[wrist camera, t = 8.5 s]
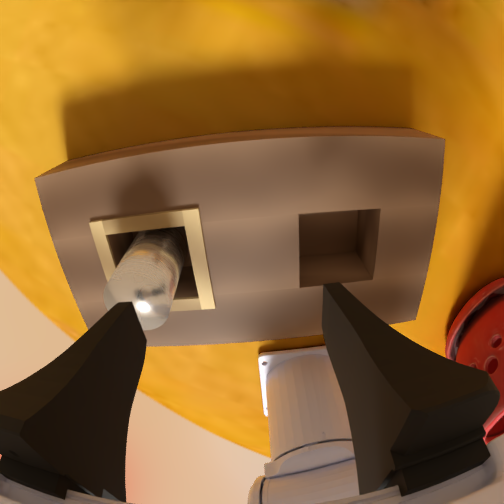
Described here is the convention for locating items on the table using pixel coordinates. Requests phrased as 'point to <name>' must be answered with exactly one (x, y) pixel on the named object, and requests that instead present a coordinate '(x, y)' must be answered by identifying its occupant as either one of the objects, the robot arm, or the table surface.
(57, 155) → the table surface
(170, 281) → the pin
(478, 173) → the table surface
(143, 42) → the table surface
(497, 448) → the robot arm
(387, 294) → the bore block
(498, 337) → the plant pot
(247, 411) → the table surface
